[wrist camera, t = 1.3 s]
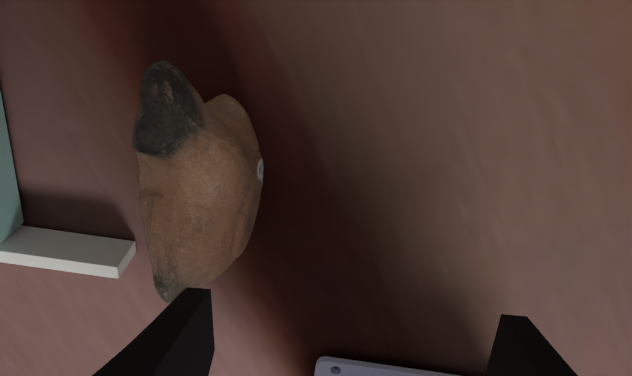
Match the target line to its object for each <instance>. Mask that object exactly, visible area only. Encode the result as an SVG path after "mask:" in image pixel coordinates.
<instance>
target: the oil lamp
mask: <svg viewBox="0 0 632 376" xmlns="http://www.w3.org/2000/svg"><path fill="white" fill-rule="evenodd" d="M141 84H142V90H141V93H140V100H141V104H140V107H139V110H138V112H137V115H136V119H135V124H134V128H133V133H132V144H133V148H134V149H135V152H136V154H137V157H138V162H139V170H140V173H139V201H140V209H141V218H142V223H143V227H144V231H145V239H146V243H147V246H148V250H149V253H150V258H151V264H152V272H153V279H154V285H155V288H156V290H157V292H158V294H159V295H160V296H161V298H162V299H163V300H164V301H165V302H167V303H169V302H172V301H173V300H174V299H175V298H176V297H177V296H178V295H179V294H180V293H181V292H182V291H183V290H184V289H185V288H187V287H190V288H200V287H202V286H204V285H207V284H208V283H210V282H211V281H213V280H214V279H216V278H217V277H218V276H220V275H221V274H222V273H223V272H224V271H225V270H226V269H227V268H228V267H229V266H230V265H231V264H232V263H233V262H234V260H235V259H236V258H238V257H239V256H240V255H241V254H242V252H243V251H244V249H245V248H246V246H247V243H248V241H249V238H250V236H251V233H252V230H253V227H254V223H255V220H256V215H257V212H258V207H259V202H260V197H261V190H262V184H263V171H264V168H263V158H262V156H261V154H260V150H259V144H258V140H257V137H256V135H255V132H254V129H253V127H252V124H251V121H250V118H249V116H248V114H247V113H246V111H245V109H244V108H243V107H242V106H241V105H240V104H239V102H237V101H236V100H235V99H234V98H233V97H231V96H229V95H226V94H221V95H218V96H216V97H215V98H214V99H212V100H210V101H208V102H206V103H204V102H203V100H202V98H201V96H200V95H199V94H198V93H197V92H196V90H195V89H194V87H193V86H192V85H191V83H190V82H189V81H188V79H187V78H186V77H185V76H184V74H183V73H182V72H181V70H180V69H179V68H178V67H176V66H175V65H173V64H172V63H170V62H168V61H158V62H156V63H154V64H152V65H151V66H150V67H149V68H148V69H147V70H146V72H145V73H144V76H143V78H142V81H141Z"/></svg>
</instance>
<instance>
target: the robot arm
mask: <svg viewBox="0 0 632 376" xmlns="http://www.w3.org/2000/svg"><path fill="white" fill-rule="evenodd" d="M214 350H215V348H214V333H213V318H212V303H211V289H201V288H190V287H187V288H185V289H184V290H183V291H182V292H181V293H180V294H179V295H178V296H177V297H176V298H175V299H174V300H173V301H172V302H171V303H170V304H169V305H168V306H167V307H166V308H165V309H164V310H163V311H162V312H161V313H160V315H159V316H158V317H157V318H156V319H155V320H154V321H153V322H152V323H151V324H149V325H148V326H147V327H146V328H145V329H144V330H143V331H142V332H141V333H140V334H139V335H138V336H137V337H136V338H135V339H134V340H133V341H132V342H131V343H129V344H128V345H127V346H126V347H125V348H124V349H123V350H122V351H121V352H119V353H118V354H117V355H116V356H115V357H114V358H112V359H111V360H110V361H109V362H108V363H107V364H105V365H104V366H103V367H102V368H101V369H100V370H98V371H97V372H96V373H95V374H93V375H92V376H208V374H209V371H210V366H211V362H212V358H213V354H214ZM333 367H339V368H333ZM314 376H460V375H453V374H446V373H439V372H432V371H425V370H418V369H411V368H404V367H397V366H390V365H383V364H377V363H370V362H363V361H356V360H349V359H342V358H335V357H328V356H323V357H320V358H319V359H318V360H317V362H316V367H315V373H314ZM485 376H578V375H577V374H576V373H575V372H574V371H573V370H572V369H571V368H570V367H569V365H568V364H567V363H566V362H565V361H564V360H563V359H562V357H561V356H560V355H559V354H558V353H557V352H556V350H555V349H554V348H553V347H552V346H551V345H550V343H549V342H548V341H547V340H546V339H545V337H544V336H543V335H542V334H541V333H540V331H539V330H538V329H537V328H536V327H535V326H534V324H533V323H532V322H531V321H530V320H529V319H528V317H526V316H514V315H503V314H501V317H500V321H499V325H498V329H497V332H496V336H495V340H494V343H493V347H492V351H491V355H490V358H489V362H488V366H487V370H486V373H485Z"/></svg>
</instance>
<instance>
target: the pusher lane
mask: <svg viewBox="0 0 632 376" xmlns="http://www.w3.org/2000/svg"><path fill="white" fill-rule="evenodd" d="M135 253H136V246H135V241H129V240H122V239H115V238H108V237H100V236H93V235H86V234H79V233H72V232H65V231H58V230H50V229H43V228H36V227H29V226H22V225H20V226H19V227H18V228H17V229H15V230H14V231H13V232H12V233H11V234H10V235H9V236H8V237H7V238H6V239H5V240H3V241H2V242H1V243H0V262H4V263H11V264H18V265H25V266H32V267H39V268H46V269H53V270H60V271H67V272H74V273H81V274H88V275H95V276H102V277H110V278H117V279H118V278H119V277H120V275H121V274H122V272H123V271H124V269H125V268H126V266H127V265H128V263H129V262H130V260H131V259H132V257H133V256H134V254H135Z"/></svg>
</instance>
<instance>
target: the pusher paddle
mask: <svg viewBox="0 0 632 376" xmlns="http://www.w3.org/2000/svg"><path fill="white" fill-rule="evenodd" d="M23 222H24V220H23V215H22V209H21V203H20V198H19V192H18V186H17V181H16V175H15V170H14V164H13V158H12V153H11V147H10V142H9V136H8V130H7V125H6V119H5V114H4V108H3V102H2V97H1V91H0V243H1V242H2V241H3V240H5V239H6V238H7V237H8V236H9V235H10V234H11V233H12V232H13V231H14V230H15V229H17V228H18V227H19V226H20V225H21V224H22V223H23Z"/></svg>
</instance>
